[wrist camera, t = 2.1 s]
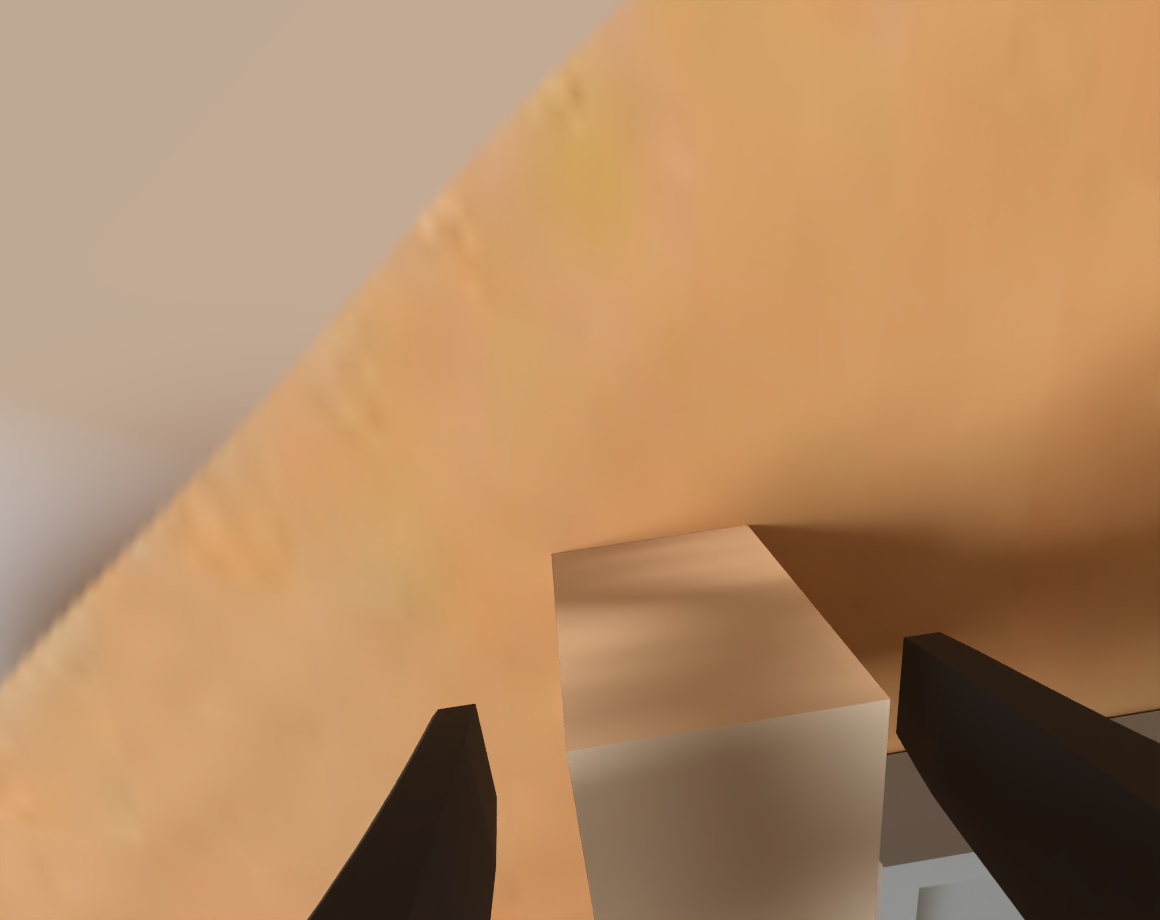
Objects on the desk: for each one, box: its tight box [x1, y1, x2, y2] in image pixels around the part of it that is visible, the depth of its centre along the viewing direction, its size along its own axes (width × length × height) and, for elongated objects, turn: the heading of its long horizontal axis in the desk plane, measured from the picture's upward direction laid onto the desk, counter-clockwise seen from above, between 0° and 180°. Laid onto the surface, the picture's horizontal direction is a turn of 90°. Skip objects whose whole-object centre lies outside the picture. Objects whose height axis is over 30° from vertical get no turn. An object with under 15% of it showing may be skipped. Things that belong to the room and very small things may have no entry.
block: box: [551, 525, 890, 920], centre depth 10 cm, size 4×4×5 cm
